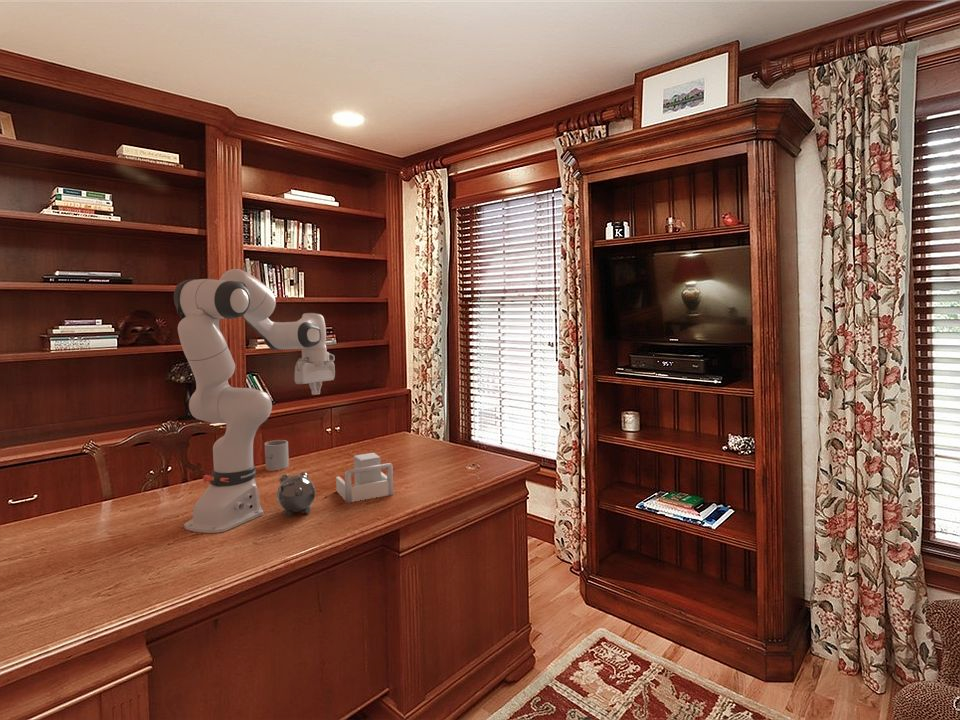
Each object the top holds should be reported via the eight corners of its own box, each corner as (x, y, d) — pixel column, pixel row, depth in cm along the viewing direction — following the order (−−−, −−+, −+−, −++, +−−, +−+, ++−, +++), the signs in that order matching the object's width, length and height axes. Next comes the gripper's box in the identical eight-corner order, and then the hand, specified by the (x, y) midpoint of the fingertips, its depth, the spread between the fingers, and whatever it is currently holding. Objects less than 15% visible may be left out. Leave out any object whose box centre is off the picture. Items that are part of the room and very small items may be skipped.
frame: (394, 494, 179) (393, 463, 178) (346, 503, 171) (345, 471, 170) (380, 483, 191) (379, 453, 190) (335, 491, 183) (334, 460, 182)
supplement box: (382, 493, 180) (381, 457, 179) (360, 497, 177) (359, 460, 175) (375, 487, 187) (374, 452, 186) (354, 490, 183) (353, 455, 182)
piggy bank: (311, 501, 174) (310, 466, 172) (319, 517, 160) (318, 480, 159) (275, 506, 169) (273, 471, 168) (280, 523, 155) (278, 485, 154)
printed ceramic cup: (291, 468, 209) (290, 443, 208) (268, 472, 205) (267, 446, 204) (283, 460, 219) (282, 437, 218) (261, 464, 215) (260, 440, 214)
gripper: (304, 358, 185) (305, 397, 186) (337, 356, 205) (338, 391, 205) (289, 358, 187) (290, 397, 188) (323, 356, 207) (324, 391, 207)
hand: (316, 394), depth 197 cm, fingers closed
